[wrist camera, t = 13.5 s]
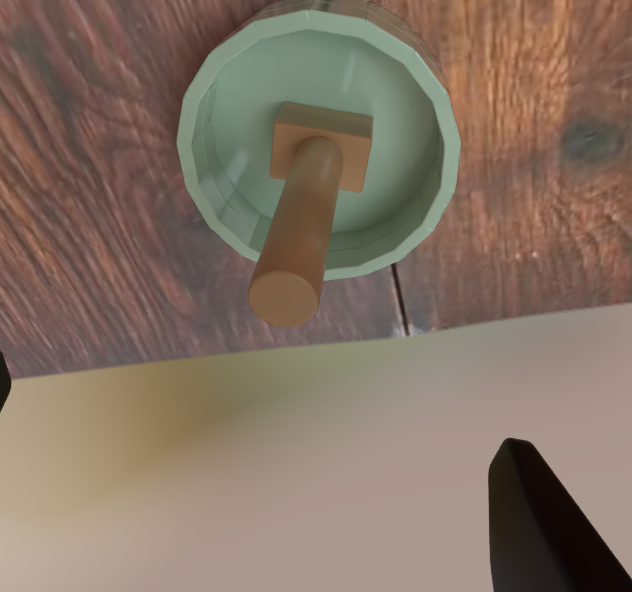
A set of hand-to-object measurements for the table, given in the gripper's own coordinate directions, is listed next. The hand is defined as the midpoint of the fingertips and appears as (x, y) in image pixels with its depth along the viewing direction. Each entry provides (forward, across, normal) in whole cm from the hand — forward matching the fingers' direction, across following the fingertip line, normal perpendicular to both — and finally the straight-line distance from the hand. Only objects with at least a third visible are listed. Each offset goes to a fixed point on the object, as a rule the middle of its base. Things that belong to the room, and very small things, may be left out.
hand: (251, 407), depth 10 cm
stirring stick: (+12, 0, 0) cm, 13 cm away
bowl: (+13, 0, 0) cm, 13 cm away
